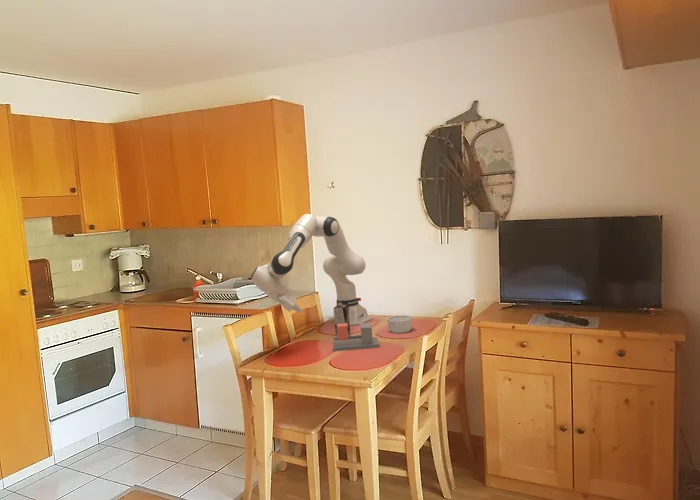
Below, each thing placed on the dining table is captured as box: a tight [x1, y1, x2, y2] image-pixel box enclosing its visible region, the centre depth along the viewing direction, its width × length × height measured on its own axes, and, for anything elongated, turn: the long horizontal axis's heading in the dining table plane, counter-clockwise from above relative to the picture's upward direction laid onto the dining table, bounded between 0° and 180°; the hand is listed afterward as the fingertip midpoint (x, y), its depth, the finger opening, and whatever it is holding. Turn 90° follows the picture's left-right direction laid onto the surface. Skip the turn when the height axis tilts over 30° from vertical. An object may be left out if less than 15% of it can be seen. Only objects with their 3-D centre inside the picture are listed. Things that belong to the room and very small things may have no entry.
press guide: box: [332, 322, 381, 352], centre depth 269 cm, size 22×14×10 cm, turn 91°
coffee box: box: [333, 304, 351, 337], centre depth 289 cm, size 9×6×16 cm
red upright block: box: [337, 323, 348, 341], centre depth 269 cm, size 5×6×9 cm
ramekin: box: [387, 314, 413, 334], centre depth 292 cm, size 13×13×7 cm
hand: (300, 311), depth 267 cm, fingers closed
